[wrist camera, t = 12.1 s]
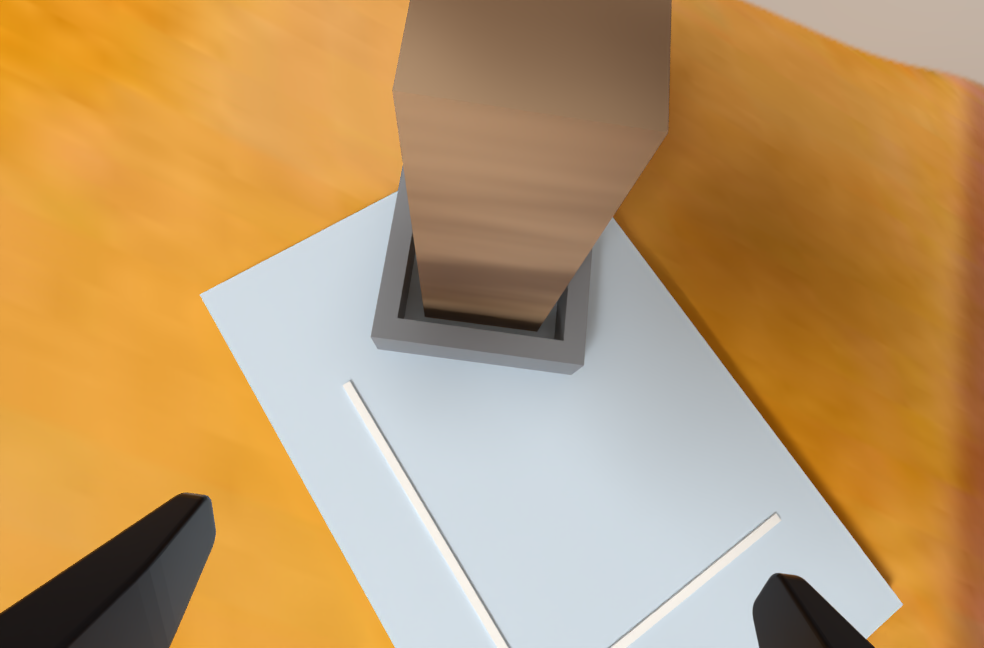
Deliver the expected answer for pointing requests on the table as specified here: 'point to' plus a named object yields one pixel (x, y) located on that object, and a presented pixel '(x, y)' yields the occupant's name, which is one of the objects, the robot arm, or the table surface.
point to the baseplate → (530, 453)
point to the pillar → (523, 142)
